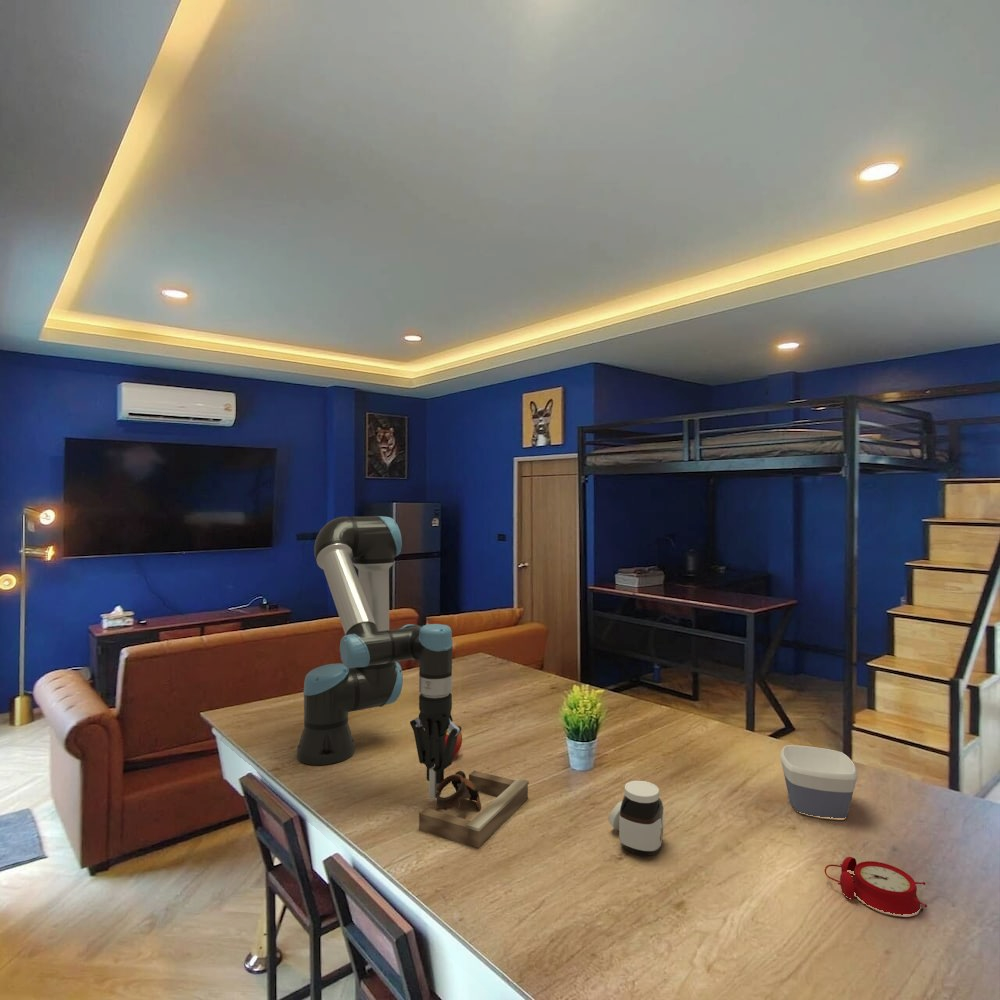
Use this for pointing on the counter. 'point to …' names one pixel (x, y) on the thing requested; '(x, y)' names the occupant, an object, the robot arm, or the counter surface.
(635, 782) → the spread jar
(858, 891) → the alarm clock
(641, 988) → the counter surface
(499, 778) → the walnut pocket
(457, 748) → the apple
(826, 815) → the bowl
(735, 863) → the counter surface
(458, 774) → the brown broken pot
